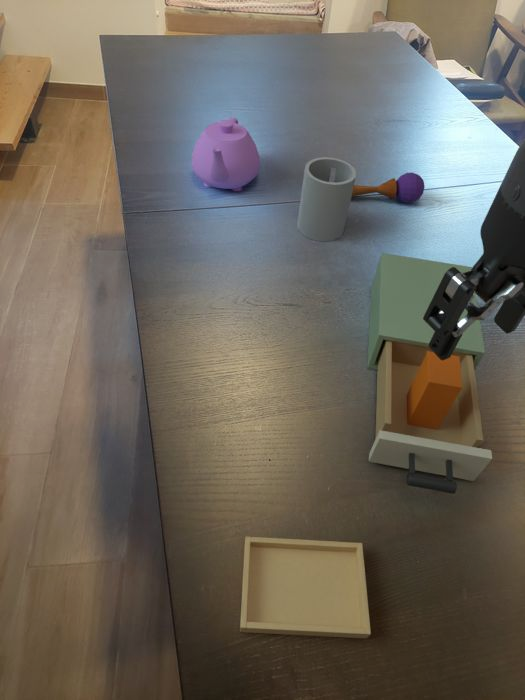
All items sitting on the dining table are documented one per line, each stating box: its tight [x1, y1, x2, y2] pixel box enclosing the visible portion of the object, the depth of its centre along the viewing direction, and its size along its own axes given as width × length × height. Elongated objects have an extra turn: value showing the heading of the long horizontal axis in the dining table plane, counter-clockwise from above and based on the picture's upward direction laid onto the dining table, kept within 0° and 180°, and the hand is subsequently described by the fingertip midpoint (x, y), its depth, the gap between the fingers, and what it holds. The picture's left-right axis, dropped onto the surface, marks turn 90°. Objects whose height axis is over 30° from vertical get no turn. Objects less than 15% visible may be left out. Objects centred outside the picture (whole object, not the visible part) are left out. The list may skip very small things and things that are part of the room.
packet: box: [407, 351, 463, 430], centre depth 66 cm, size 5×4×10 cm
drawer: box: [368, 340, 493, 495], centre depth 67 cm, size 22×13×6 cm, turn 170°
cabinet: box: [366, 252, 486, 371], centre depth 79 cm, size 19×15×8 cm
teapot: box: [191, 117, 261, 192], centre depth 103 cm, size 20×14×12 cm
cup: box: [296, 156, 357, 242], centre depth 95 cm, size 9×9×12 cm
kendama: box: [351, 172, 425, 204], centre depth 105 cm, size 6×6×20 cm
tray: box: [239, 536, 372, 639], centre depth 55 cm, size 13×9×2 cm
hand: (471, 339), depth 50 cm, fingers open, 8 cm apart
